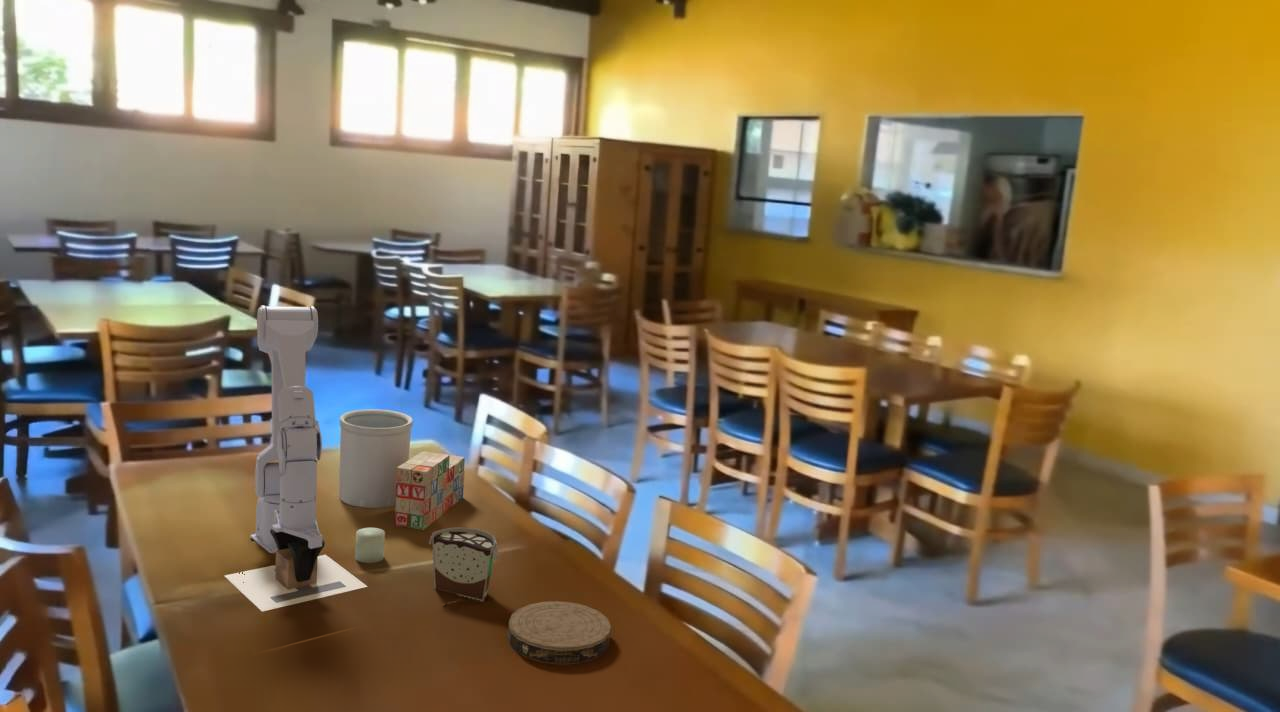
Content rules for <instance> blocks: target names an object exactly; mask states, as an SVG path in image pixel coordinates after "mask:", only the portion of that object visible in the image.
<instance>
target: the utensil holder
mask: <svg viewBox="0 0 1280 712" xmlns="http://www.w3.org/2000/svg"><path fill="white" fill-rule="evenodd" d="M413 421H414V420H413V417H412V416H410V415H408V414H406V413H403V412H400V411H395V410H390V409H376V408H374V409H369V408H368V409H357V410H352V411H347V412H344V413H343V414H342V415H340V417H339V426H340V434H339V435H340V439H339V441H340V442H339V443H340V444H339V467H338V468H339V470H338V471H339V475H338V497H339V500H340V501H342V502H343V503H345V504H346V505H350V506H353V507H359V508H369V509H371V508H372V509H380V508H387V507H388V508H389V507H393V506H396V482H397V467H399V466H400V465H402V464H404V463H405V462H407V461H408V460H410V459H409V458H410V447H411V445H410V444H411V430H412V428H413V423H414V422H413Z"/></svg>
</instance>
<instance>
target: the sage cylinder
mask: <svg viewBox="0 0 1280 712" xmlns="http://www.w3.org/2000/svg"><path fill="white" fill-rule="evenodd" d="M355 533H356V534H355V549H354V550H355V551H354V552H355V553H354V559H355V561H357V562H359V563H364V564H375V563H378V562H381V561H383V560H384V558H385V536H386V532H385V530H383V529H381V528H378V527H363V528H360V529H358V530H356V532H355Z"/></svg>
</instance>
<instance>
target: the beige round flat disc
mask: <svg viewBox="0 0 1280 712" xmlns="http://www.w3.org/2000/svg"><path fill="white" fill-rule="evenodd" d="M611 627H612V626H611V623H610V620H609V618H608V617H607V616H605V615H604V614H603V613H602V612H601V611H598V610H597V609H594V608H592V607H590V606H588V605H584V604H581V603H577V602H576V603H575V602H569V601H561V600H560V601H559V600H557V601H555V600H554V601H541V602H536V603H530V604H527V605H524V606H522V607H519V608H518V609H517V610H515V612H513V613H512V614H511V616H510V618H509V620H508V630H507V631H508V632H507V639H508V643H509V646H510V645H511V646H510V647H511V648H512V649H513V651H515V652H516V653H517V654H519V655H521V656H523V657H525V658H527V659H529V660H533V661H537V662H540V663H545V664H555V665H574V664H581V663H585V662H589V661H590V662H591V661H592V660H594V659H596V658H599V657H601V656H602V655H603V654H604V653H605V652H606V651H607V650H608V649H609V645H610V644H609V643H610V639H611V638H610V636H611V629H612V628H611Z"/></svg>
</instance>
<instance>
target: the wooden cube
mask: <svg viewBox="0 0 1280 712" xmlns="http://www.w3.org/2000/svg"><path fill="white" fill-rule="evenodd" d="M317 558H318V557H317ZM275 565H276V574H275V579H276V580H277V581H279V582H280V583H281V584H282V585H283V586H284V587H285V588H287V589H292V588H297V587H301V586H306V585H310V584H315V583H317V559H316V562H315V565H314V568H313V571H312V575H311V578H310V580H307V581H302V582H298V581H297V580H296V576H295V568H294V560H293V556H292V553H291V551H290V549H289V548H288V549H283V550H278V551H276V553H275Z"/></svg>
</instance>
